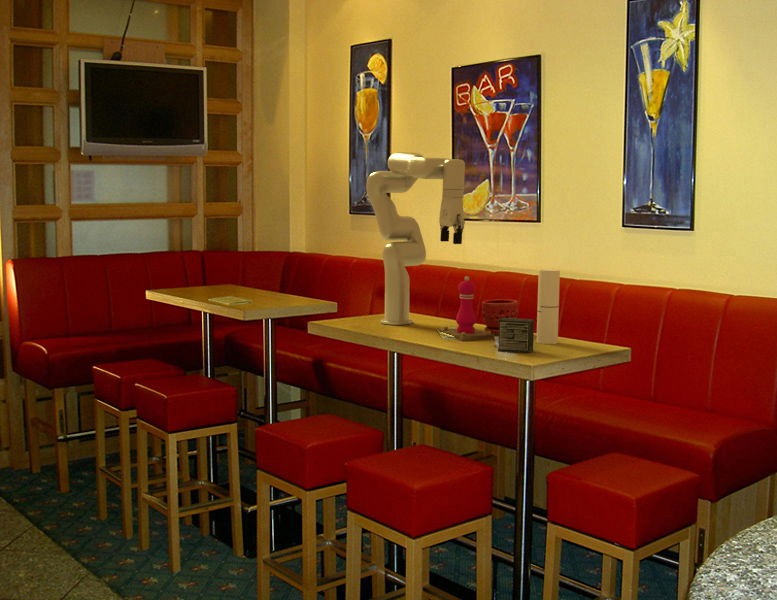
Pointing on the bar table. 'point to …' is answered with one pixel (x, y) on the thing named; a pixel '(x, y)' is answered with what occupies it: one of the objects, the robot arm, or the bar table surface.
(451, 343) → the bar table surface
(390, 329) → the bar table surface
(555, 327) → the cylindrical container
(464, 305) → the pepper mill
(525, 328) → the small box
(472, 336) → the serving board
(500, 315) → the plant pot
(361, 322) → the bar table surface
